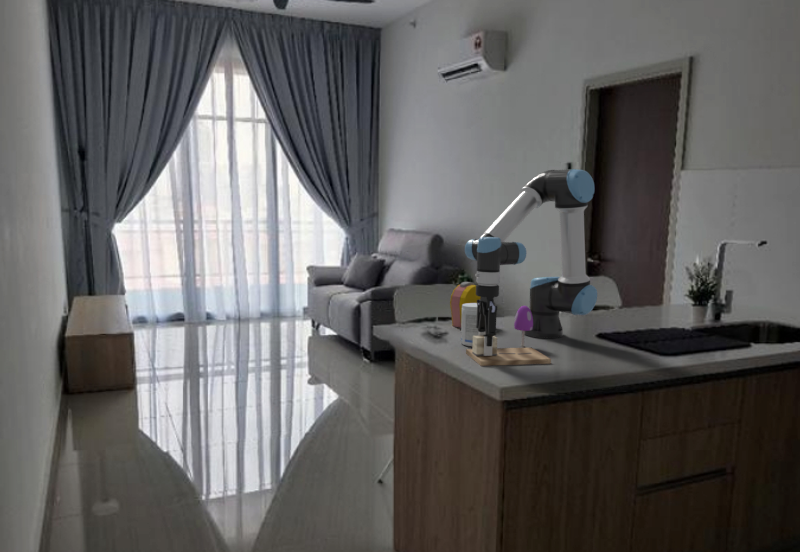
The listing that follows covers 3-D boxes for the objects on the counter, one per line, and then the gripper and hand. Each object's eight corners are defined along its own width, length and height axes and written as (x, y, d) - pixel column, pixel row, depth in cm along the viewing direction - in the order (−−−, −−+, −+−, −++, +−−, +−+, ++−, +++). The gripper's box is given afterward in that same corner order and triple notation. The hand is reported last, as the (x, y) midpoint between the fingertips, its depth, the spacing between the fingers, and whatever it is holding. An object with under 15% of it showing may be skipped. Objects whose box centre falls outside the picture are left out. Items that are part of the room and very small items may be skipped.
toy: (533, 345, 232) (535, 305, 230) (530, 349, 226) (532, 307, 224) (514, 343, 234) (516, 303, 232) (511, 347, 228) (513, 306, 226)
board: (531, 351, 222) (531, 347, 222) (550, 363, 207) (551, 358, 207) (466, 353, 218) (466, 348, 217) (480, 365, 202) (481, 360, 202)
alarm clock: (471, 321, 273) (473, 279, 271) (486, 325, 267) (488, 282, 265) (448, 326, 263) (449, 282, 261) (463, 329, 257) (464, 284, 255)
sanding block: (492, 352, 213) (492, 335, 213) (496, 355, 209) (497, 337, 208) (472, 353, 212) (472, 335, 211) (476, 356, 208) (476, 338, 207)
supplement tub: (492, 345, 230) (493, 305, 228) (472, 348, 225) (473, 307, 223) (475, 340, 238) (476, 301, 236) (455, 343, 233) (456, 303, 231)
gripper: (468, 280, 216) (465, 347, 218) (485, 288, 198) (483, 360, 201) (489, 280, 217) (486, 346, 220) (508, 288, 199) (505, 359, 202)
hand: (484, 353), depth 210 cm, fingers open, 5 cm apart
